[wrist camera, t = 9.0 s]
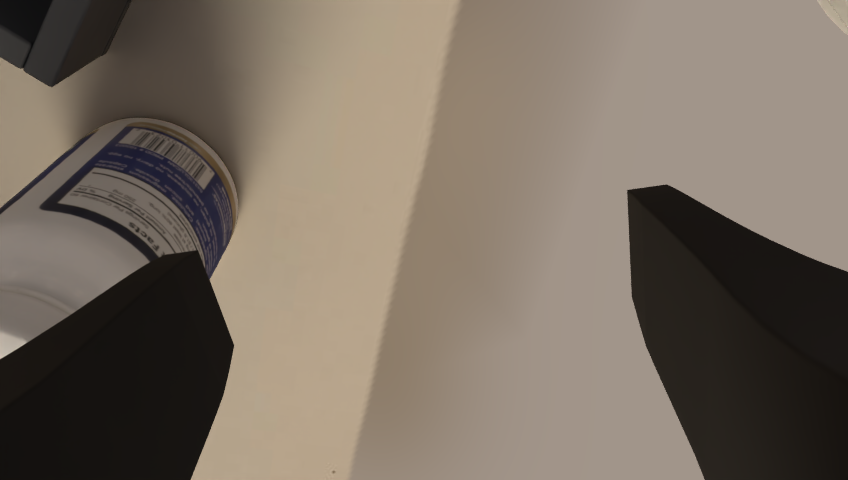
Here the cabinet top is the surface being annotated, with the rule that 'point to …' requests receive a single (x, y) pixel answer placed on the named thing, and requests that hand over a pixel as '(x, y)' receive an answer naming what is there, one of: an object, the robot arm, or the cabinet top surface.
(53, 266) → the pill bottle
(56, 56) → the bin
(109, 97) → the cabinet top surface
